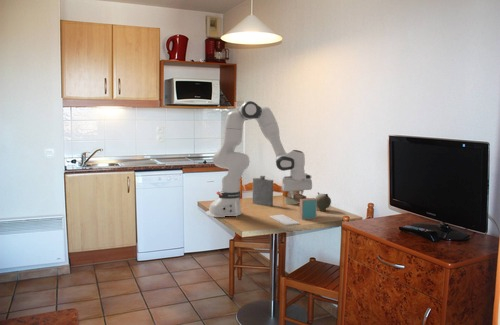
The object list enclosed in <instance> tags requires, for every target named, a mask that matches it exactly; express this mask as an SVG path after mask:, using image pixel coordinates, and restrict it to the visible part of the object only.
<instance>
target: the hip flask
mask: <svg viewBox="0 0 500 325" xmlns="http://www.w3.org/2000/svg"><path fill="white" fill-rule="evenodd" d="M265 178H266V175H260V176H259V177H253V178H252V204H254V203H256V204H255V205H259V204H260V206H268V207H273V205H274V179H267V178H266V179H265Z"/></svg>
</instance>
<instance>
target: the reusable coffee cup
mask: <svg viewBox="0 0 500 325" xmlns="http://www.w3.org/2000/svg"><path fill="white" fill-rule="evenodd" d="M294 192H296V193H299V194H300V192H301V191H300V190H299V191H294ZM282 193H283V198H284V204H286V205H298V203H299V202H297V201H295V200H292V199H290V198H288V191H283V190H282Z"/></svg>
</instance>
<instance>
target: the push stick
mask: <svg viewBox="0 0 500 325" xmlns="http://www.w3.org/2000/svg"><path fill="white" fill-rule="evenodd" d="M293 194H294V195H295V198H292V195H291V193H290V191H288V198H290V199H292V200H295V201H297V202H298V203H300V199H307V196H306V195H304V194H302V195H301V194H299V193H296V192H294V193H293Z"/></svg>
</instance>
